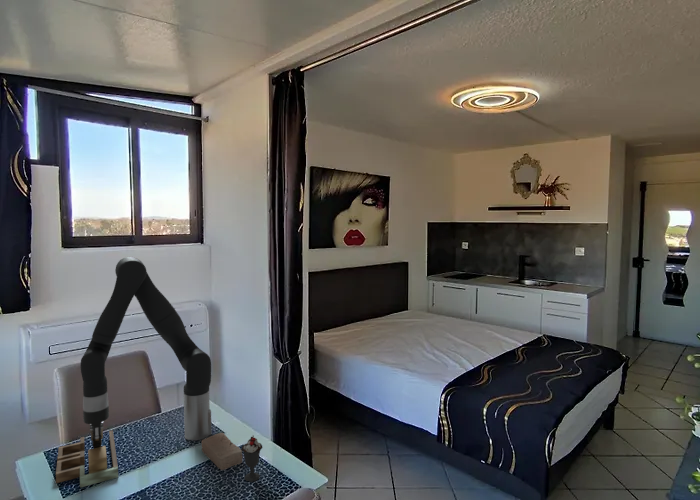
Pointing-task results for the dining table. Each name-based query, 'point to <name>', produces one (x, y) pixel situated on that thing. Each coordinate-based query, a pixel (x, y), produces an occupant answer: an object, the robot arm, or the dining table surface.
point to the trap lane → (74, 459)
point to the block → (97, 459)
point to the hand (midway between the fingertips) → (97, 454)
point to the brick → (221, 451)
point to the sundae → (251, 457)
